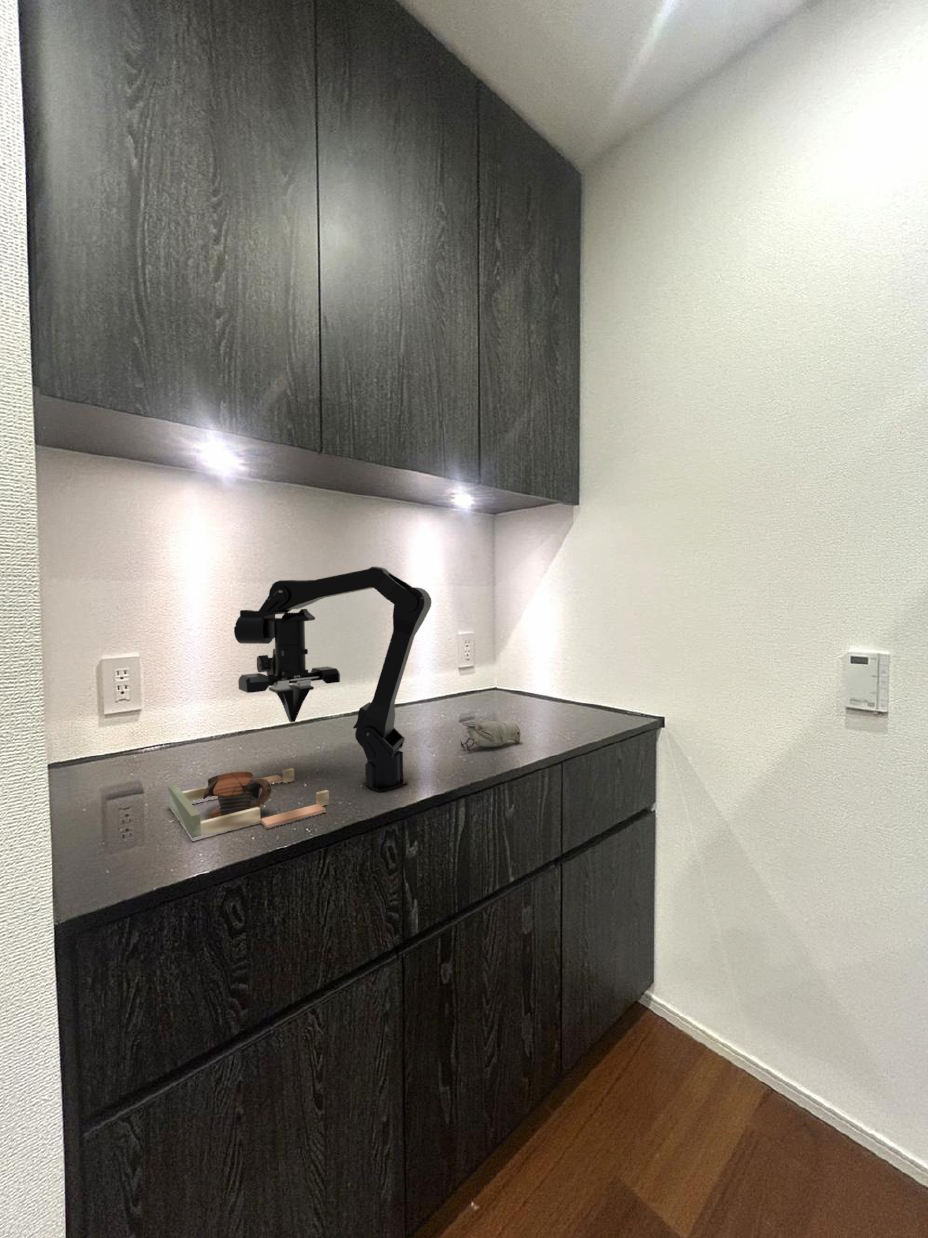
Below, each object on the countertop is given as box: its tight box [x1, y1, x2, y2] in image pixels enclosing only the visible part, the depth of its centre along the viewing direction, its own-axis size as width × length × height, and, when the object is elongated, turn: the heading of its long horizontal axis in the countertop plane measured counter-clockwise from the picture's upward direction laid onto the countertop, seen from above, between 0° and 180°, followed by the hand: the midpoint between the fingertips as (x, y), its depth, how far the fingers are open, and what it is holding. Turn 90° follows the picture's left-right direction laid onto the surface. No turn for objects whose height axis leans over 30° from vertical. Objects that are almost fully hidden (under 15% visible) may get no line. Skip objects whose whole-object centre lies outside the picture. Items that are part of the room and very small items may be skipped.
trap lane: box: [168, 767, 330, 838], centre depth 96 cm, size 22×23×4 cm
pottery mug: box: [203, 771, 273, 819], centre depth 94 cm, size 12×10×8 cm
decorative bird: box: [459, 720, 521, 753], centre depth 131 cm, size 5×16×8 cm, turn 119°
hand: (292, 721), depth 109 cm, fingers closed
